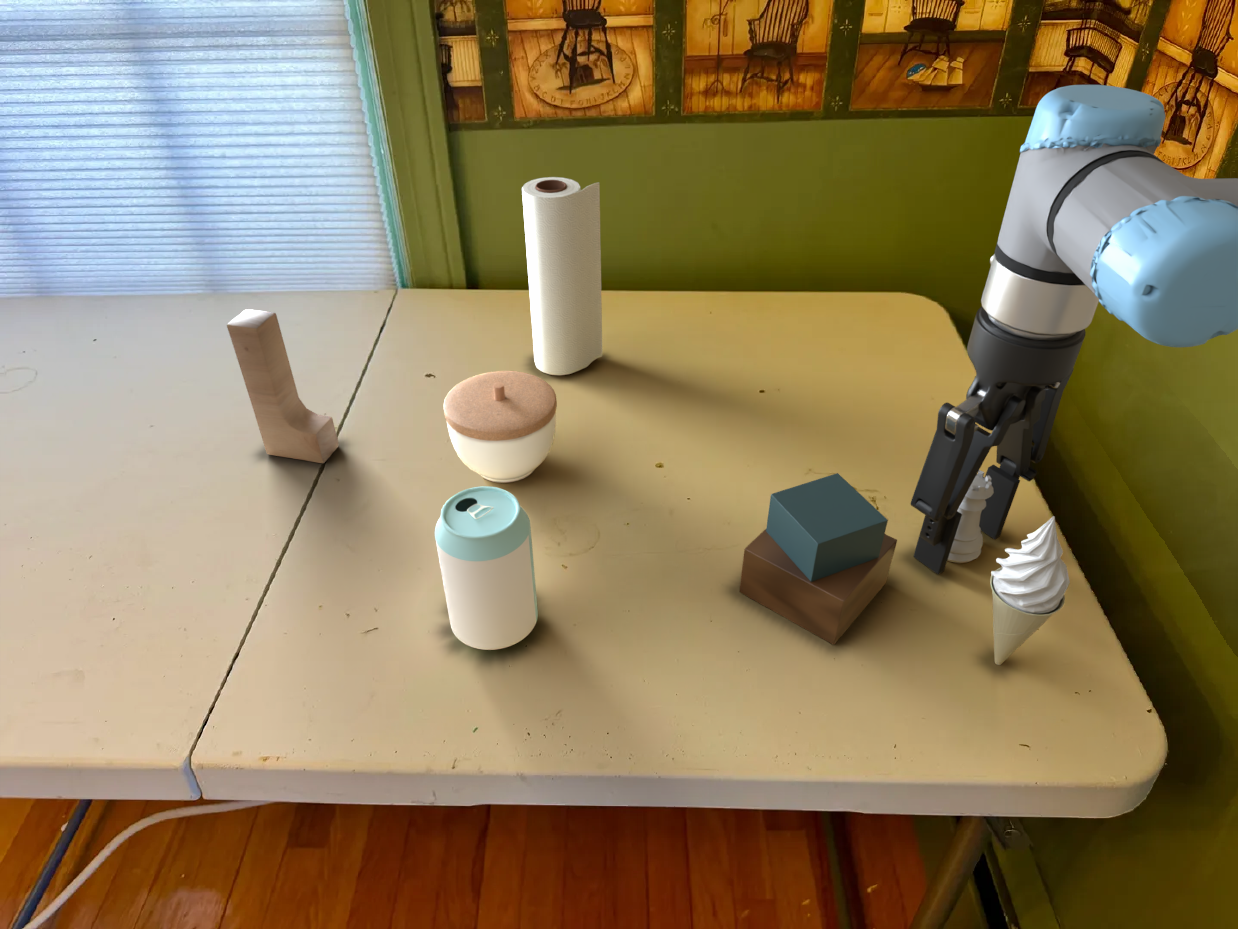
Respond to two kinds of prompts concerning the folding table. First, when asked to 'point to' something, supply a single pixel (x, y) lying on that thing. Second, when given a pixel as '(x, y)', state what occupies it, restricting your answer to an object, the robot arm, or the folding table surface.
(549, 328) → the paper towel roll
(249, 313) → the wooden block
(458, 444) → the trinket box
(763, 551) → the base block
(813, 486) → the top block
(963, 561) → the rook chess piece
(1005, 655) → the ice cream cone
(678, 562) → the folding table surface
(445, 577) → the can
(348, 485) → the folding table surface
